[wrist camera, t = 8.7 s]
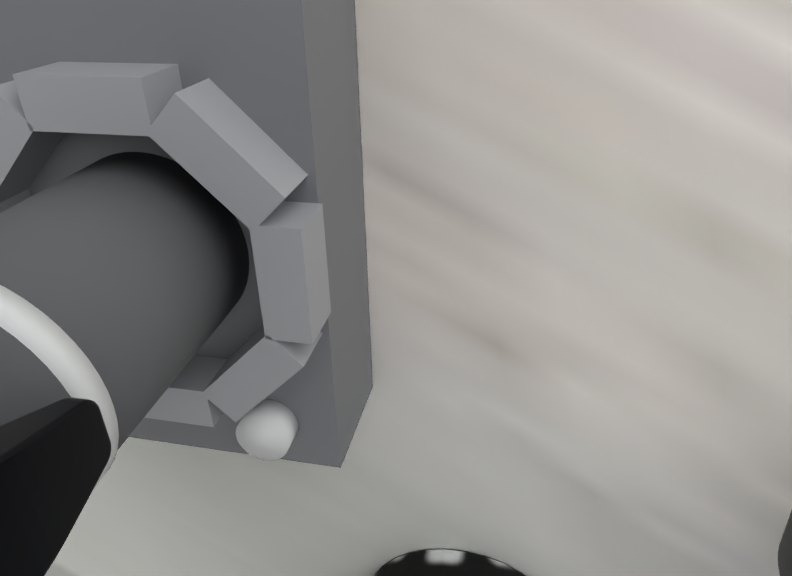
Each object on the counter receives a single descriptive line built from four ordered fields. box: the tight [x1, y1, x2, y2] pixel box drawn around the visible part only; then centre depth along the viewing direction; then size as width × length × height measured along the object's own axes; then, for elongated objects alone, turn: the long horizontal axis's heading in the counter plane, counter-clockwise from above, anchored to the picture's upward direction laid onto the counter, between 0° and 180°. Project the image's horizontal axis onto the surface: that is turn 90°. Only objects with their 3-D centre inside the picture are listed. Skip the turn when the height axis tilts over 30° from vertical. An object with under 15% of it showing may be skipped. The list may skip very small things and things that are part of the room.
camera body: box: [0, 0, 373, 468], centre depth 18 cm, size 9×14×6 cm, turn 1°
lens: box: [0, 152, 249, 486], centre depth 14 cm, size 5×5×7 cm
